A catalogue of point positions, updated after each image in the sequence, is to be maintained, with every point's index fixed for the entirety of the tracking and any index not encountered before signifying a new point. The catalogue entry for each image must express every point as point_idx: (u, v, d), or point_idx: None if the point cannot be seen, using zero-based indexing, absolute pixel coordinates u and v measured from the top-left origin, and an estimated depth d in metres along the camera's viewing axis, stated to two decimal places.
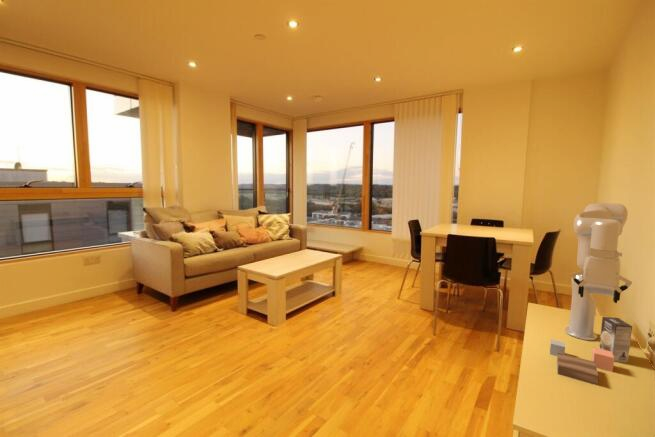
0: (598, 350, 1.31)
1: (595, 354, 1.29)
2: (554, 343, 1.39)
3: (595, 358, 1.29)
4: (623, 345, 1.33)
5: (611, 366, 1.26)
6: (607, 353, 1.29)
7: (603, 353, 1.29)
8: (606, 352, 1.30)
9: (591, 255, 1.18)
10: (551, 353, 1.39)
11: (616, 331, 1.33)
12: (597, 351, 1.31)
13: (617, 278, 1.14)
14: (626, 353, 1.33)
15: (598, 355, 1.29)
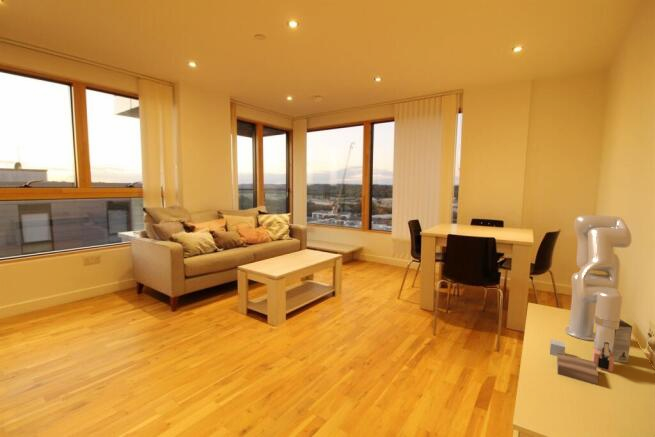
0: (598, 350, 1.31)
1: (595, 354, 1.29)
2: (554, 343, 1.39)
3: (595, 358, 1.29)
4: (623, 345, 1.33)
5: (611, 366, 1.26)
6: None
7: (603, 353, 1.29)
8: None
9: (613, 327, 1.25)
10: (551, 353, 1.39)
11: (616, 331, 1.33)
12: (597, 350, 1.31)
13: None
14: (626, 353, 1.33)
15: (598, 355, 1.28)
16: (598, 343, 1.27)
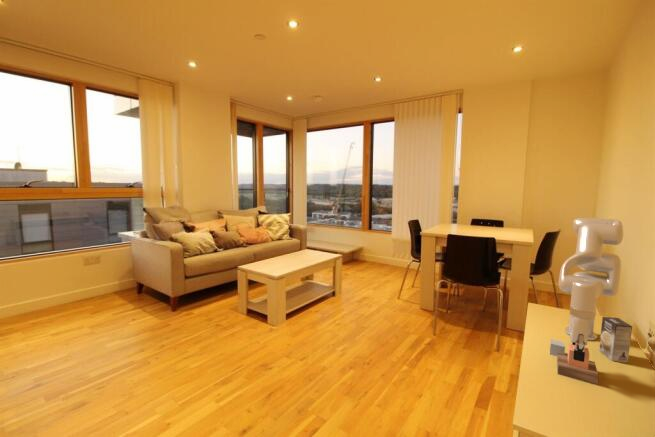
0: (574, 347, 1.26)
1: (570, 351, 1.24)
2: (554, 343, 1.39)
3: (570, 355, 1.24)
4: (623, 345, 1.33)
5: (586, 363, 1.21)
6: None
7: None
8: None
9: (588, 318, 1.20)
10: (551, 353, 1.39)
11: (616, 331, 1.33)
12: (573, 347, 1.26)
13: None
14: (626, 353, 1.33)
15: (573, 352, 1.23)
16: (573, 335, 1.22)
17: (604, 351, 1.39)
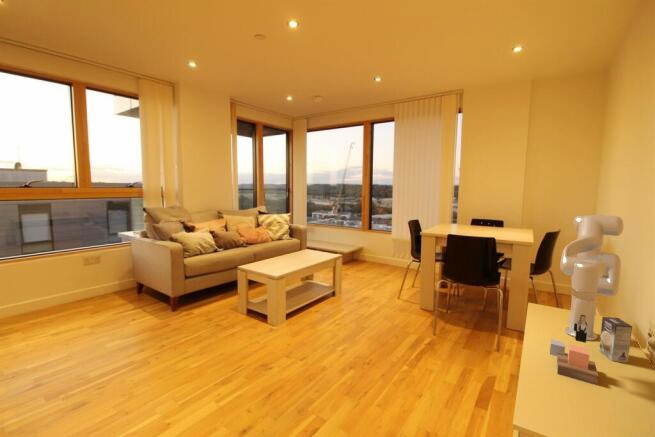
0: (574, 347, 1.26)
1: (570, 351, 1.24)
2: (554, 343, 1.39)
3: (570, 355, 1.24)
4: (623, 345, 1.33)
5: (586, 363, 1.21)
6: (583, 350, 1.24)
7: (579, 350, 1.24)
8: (582, 349, 1.25)
9: (590, 299, 1.19)
10: (551, 353, 1.39)
11: (616, 331, 1.33)
12: (573, 347, 1.26)
13: None
14: (626, 353, 1.33)
15: (573, 352, 1.23)
16: (574, 316, 1.21)
17: (604, 351, 1.39)
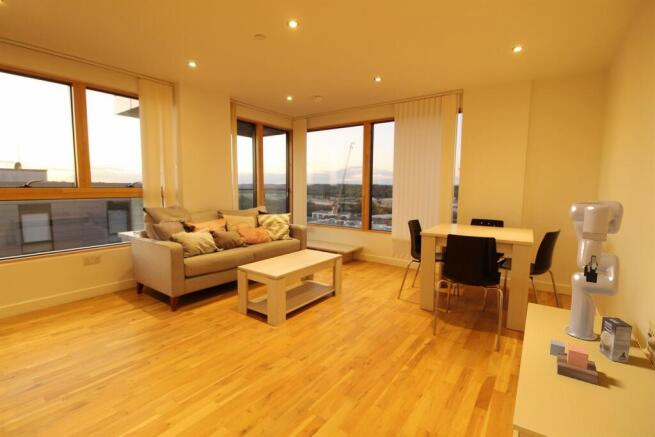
0: (573, 347, 1.26)
1: (569, 351, 1.24)
2: (554, 343, 1.39)
3: (569, 355, 1.24)
4: (623, 345, 1.33)
5: (585, 363, 1.21)
6: (582, 350, 1.24)
7: (578, 349, 1.24)
8: (581, 349, 1.25)
9: (601, 240, 1.22)
10: (551, 353, 1.39)
11: (616, 331, 1.33)
12: (572, 347, 1.26)
13: None
14: (626, 353, 1.33)
15: (572, 352, 1.24)
16: (585, 257, 1.23)
17: (604, 351, 1.39)
